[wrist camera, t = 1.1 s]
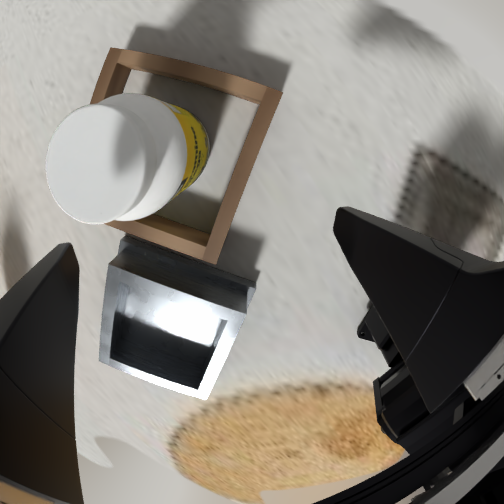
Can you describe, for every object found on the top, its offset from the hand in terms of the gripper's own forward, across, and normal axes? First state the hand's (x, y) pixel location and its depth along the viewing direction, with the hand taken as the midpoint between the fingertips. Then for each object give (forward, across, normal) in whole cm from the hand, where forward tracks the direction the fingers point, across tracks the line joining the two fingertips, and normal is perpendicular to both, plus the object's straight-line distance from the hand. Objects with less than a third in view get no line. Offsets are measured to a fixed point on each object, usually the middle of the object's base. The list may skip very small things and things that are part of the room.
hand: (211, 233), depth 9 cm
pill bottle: (+13, +1, +1) cm, 13 cm away
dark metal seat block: (+10, +2, +14) cm, 17 cm away
